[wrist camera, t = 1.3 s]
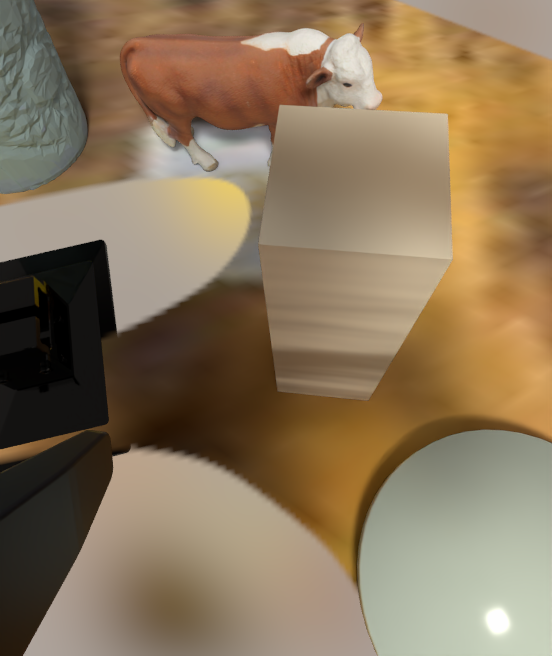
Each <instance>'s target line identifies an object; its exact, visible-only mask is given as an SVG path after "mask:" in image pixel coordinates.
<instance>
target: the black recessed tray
mask: <svg viewBox="0 0 552 656" xmlns="http://www.w3.org/2000/svg"><path fill="white" fill-rule="evenodd" d="M116 332H117V327H116V319H115V311H114V302H113V295H112V286H111V278H110V269H109V261H108V253H107V245H106V243H105V242H104V240H96V241H92V242H88V243H83V244H79V245H74V246H70V247H65V248H61V249H57V250H52V251H48V252H43V253H39V254H34V255H30V256H26V257H21V258H17V259H12V260H8V261H4V262H0V449H4V448H8V447H12V446H17V445H21V444H25V443H29V442H34V441H38V440H42V439H46V438H51V437H55V436H59V435H63V434H68V433H72V432H76V431H80V430H85V429H89V428H93V427H97V426H102V425H106V424H107V423H108V421H109V417H108V407H107V397H106V387H105V377H104V366H103V356H102V346H101V340H102V339H105V338H107V337H109V336H111V335H112V334H114V333H116ZM111 450H112V457H113V456H117V455H121V454H125V453H128V452H129V451H130V449H111ZM37 454H39V453H37ZM37 454H30V455H24V456H19V457H13V458H7V459H0V473H1V472H3V471H5V470H7V469H9V468H11V467H13V466H15V465H17V464H19V463H21V462H23V461H25V460H27V459H29V458H31V457H33V456H35V455H37Z"/></svg>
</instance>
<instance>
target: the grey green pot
mask: <svg viewBox="0 0 552 656" xmlns="http://www.w3.org/2000/svg"><path fill="white" fill-rule="evenodd" d="M86 140H87V121H86V117H85V114H84V111H83V109H82V107H81V104H80V102H79V100H78V98H77V96H76V93H75V91H74V89H73V87H72V85H71V83H70V81H69V79H68V77H67V74H66V72H65V70H64V67H63V65H62V63H61V61H60V58H59V56H58V54H57V52H56V50H55V47H54V45H53V43H52V40H51V37H50V35H49V33H48V32H47V31H46V28H45V25H44V22H43V20H42V18H41V15H40V14H39V12H38V10H37V9H36V5H35V3H34V0H0V193H3V194H8V193H16V192H24V191H27V190H29V189H30V190H34V189H36V188H38V187H39V186H41V185H42V184H47V183H48V182H49V181H52V180H54V179H55V178H56V177H58V176H59V175H61V174H62V173H63V172H64V171H66V170H67V169H68V168H69V167H70V166H71V165H72V163H74V162H75V161H76V159H77V157H79V156H80V154H81V152H82V151H83V149H84V146H85V144H86Z"/></svg>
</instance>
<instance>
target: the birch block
mask: <svg viewBox="0 0 552 656" xmlns="http://www.w3.org/2000/svg"><path fill="white" fill-rule="evenodd" d="M258 248H259V255H260V263H261V270H262V278H263V285H264V293H265V300H266V308H267V315H268V323H269V330H270V338H271V345H272V353H273V360H274V368H275V375H276V383H277V390H278V391H279V392H288V393H298V394H308V395H317V396H327V397H336V398H346V399H356V400H365V401H368V400H369V399H370V397H371V395H372V394H373V392H374V390H375V389H376V387H377V385H378V384H379V382H380V380H381V379H382V377H383V375H384V374H385V372H386V370H387V369H388V367H389V365H390V363H391V362H392V360H393V358H394V357H395V355H396V353H397V352H398V350H399V348H400V347H401V345H402V343H403V342H404V340H405V338H406V337H407V335H408V333H409V332H410V330H411V328H412V327H413V325H414V323H415V322H416V320H417V318H418V317H419V315H420V313H421V312H422V310H423V308H424V307H425V305H426V303H427V302H428V300H429V298H430V297H431V295H432V293H433V292H434V290H435V288H436V287H437V285H438V283H439V282H440V280H441V278H442V277H443V275H444V273H445V272H446V270H447V268H448V267H449V265H450V263H451V261H452V260H453V255H452V226H451V197H450V168H449V139H448V114H439V113H421V112H402V111H384V110H365V109H347V108H328V107H310V106H292V105H280V106H279V112H278V118H277V125H276V131H275V138H274V144H273V151H272V157H271V164H270V170H269V177H268V183H267V190H266V196H265V203H264V209H263V216H262V222H261V228H260V235H259V241H258Z"/></svg>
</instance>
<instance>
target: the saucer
mask: <svg viewBox="0 0 552 656" xmlns="http://www.w3.org/2000/svg"><path fill="white" fill-rule="evenodd" d="M357 581H358V591H359V598H360V605H361V610H362V613H363V617H364V621H365V625H366V629H367V631H368V634H369V637H370V639H371V642H372V644H373V647H374V650H375V652H376V654H377V656H552V443H550V442H547V441H545V440H543V439H540V438H537V437H533V436H530V435H526V434H523V433H518V432H511V431H504V430H476V431H466V432H462V433H458V434H454V435H450V436H447V437H445V438H442V439H440V440H437V441H435V442H433V443H431V444H429V445H427V446H426V447H424V448H422V449H421V450H419V451H417V452H415V453H414V454H412V455H411V456H409V457H408V458H407V459H406V460H404V461H403V462H402V463H401V464H399V465H398V466H397V467H396V469H395V470H394V471H393V472H392V473H391V474H390V475H389V476H388V477H387V478H386V480H385V481H384V483H383V484H382V486H381V487H380V488H379V490H378V491H377V493H376V495H375V497H374V499H373V501H372V503H371V505H370V507H369V509H368V512H367V515H366V518H365V521H364V523H363V527H362V531H361V536H360V541H359V547H358V559H357Z"/></svg>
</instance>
